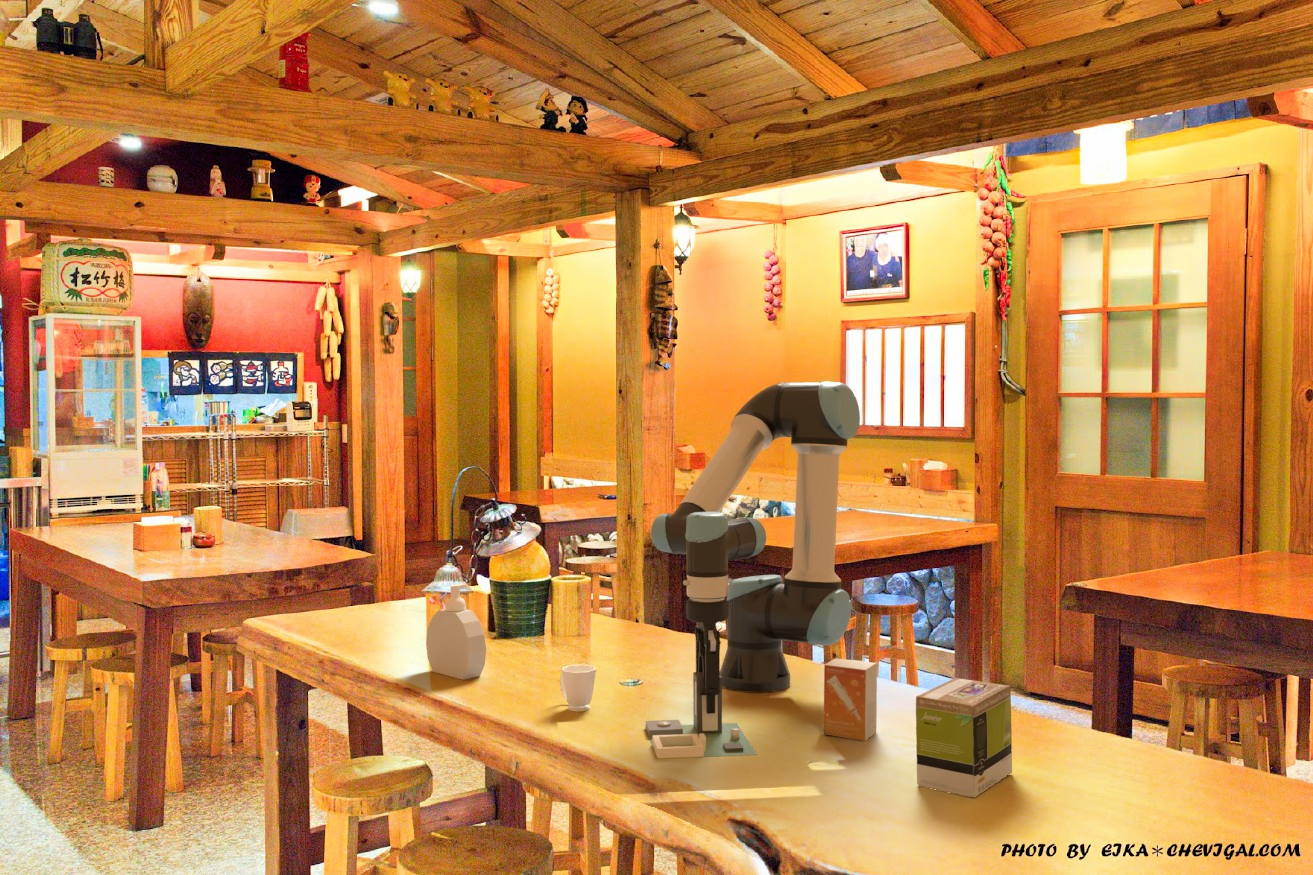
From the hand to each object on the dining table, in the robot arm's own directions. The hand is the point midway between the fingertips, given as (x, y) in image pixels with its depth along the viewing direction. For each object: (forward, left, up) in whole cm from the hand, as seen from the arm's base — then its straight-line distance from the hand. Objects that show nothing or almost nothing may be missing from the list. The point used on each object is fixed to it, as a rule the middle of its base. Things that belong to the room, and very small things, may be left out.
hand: (707, 725), depth 208 cm
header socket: (+7, +12, -1) cm, 13 cm away
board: (+3, +6, -2) cm, 7 cm away
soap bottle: (+48, -54, -2) cm, 72 cm away
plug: (0, 0, -1) cm, 1 cm away
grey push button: (+8, +2, -2) cm, 9 cm away
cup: (+23, -23, -2) cm, 33 cm away
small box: (-26, +2, -2) cm, 26 cm away
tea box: (-37, +29, -2) cm, 47 cm away
